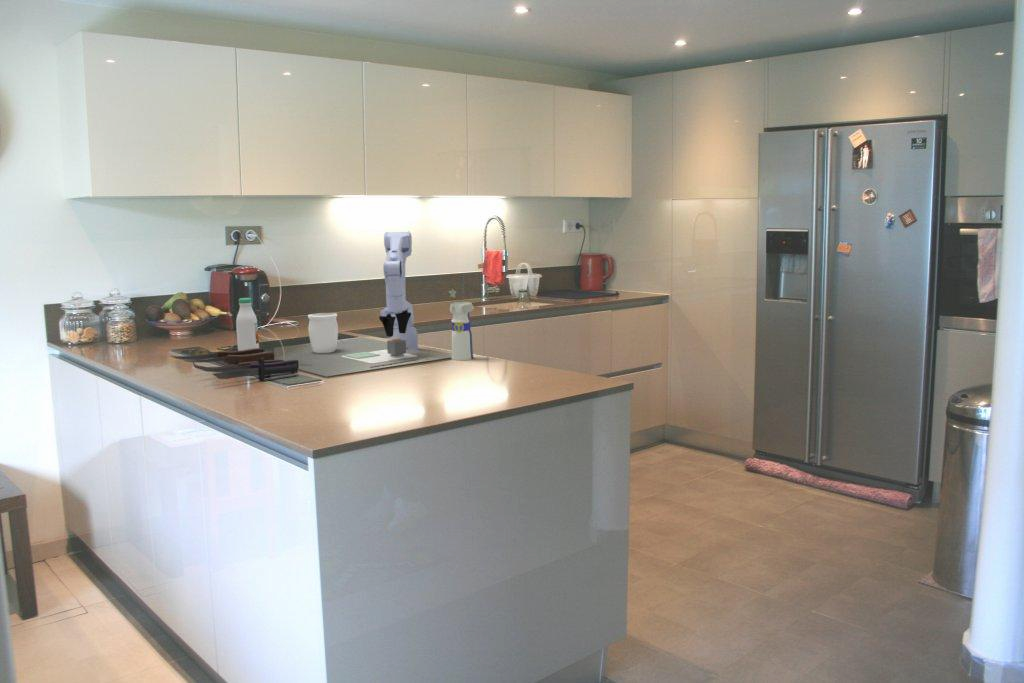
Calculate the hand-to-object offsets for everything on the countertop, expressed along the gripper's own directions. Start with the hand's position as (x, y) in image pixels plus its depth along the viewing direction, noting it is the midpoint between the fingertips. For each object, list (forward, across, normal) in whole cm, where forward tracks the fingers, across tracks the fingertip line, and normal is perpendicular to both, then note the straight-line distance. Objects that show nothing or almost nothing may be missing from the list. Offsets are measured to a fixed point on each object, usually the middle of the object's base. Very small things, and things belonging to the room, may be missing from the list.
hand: (396, 334), depth 288 cm
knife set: (+9, +39, -35) cm, 53 cm away
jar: (+9, +1, -31) cm, 33 cm away
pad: (+8, +4, -12) cm, 15 cm away
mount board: (+9, +2, -6) cm, 11 cm away
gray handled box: (+7, 0, 0) cm, 7 cm away
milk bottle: (+9, +3, -66) cm, 66 cm away
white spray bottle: (+9, -12, +20) cm, 25 cm away
